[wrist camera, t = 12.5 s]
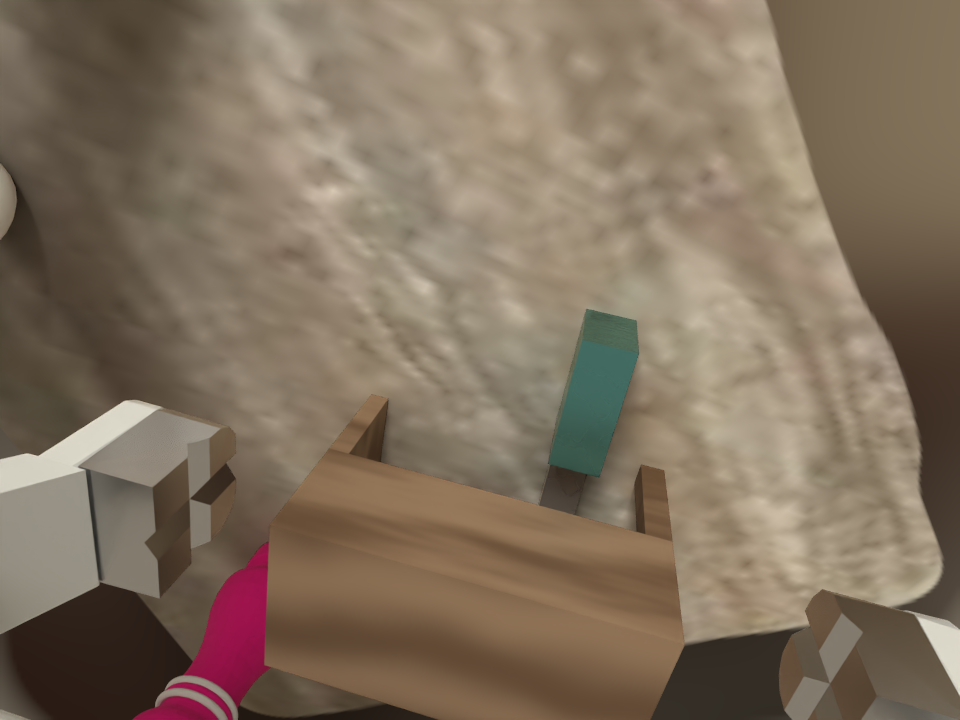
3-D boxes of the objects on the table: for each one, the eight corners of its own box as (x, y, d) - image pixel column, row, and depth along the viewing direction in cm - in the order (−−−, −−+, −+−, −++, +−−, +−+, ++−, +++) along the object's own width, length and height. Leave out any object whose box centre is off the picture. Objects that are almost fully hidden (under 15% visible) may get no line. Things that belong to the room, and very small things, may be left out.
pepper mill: (349, 591, 51) (204, 870, 33) (283, 612, 53) (114, 881, 36) (300, 523, 49) (117, 779, 31) (233, 547, 51) (28, 798, 34)
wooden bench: (371, 394, 43) (269, 524, 30) (664, 470, 41) (684, 644, 28) (358, 509, 47) (264, 665, 35) (622, 583, 45) (623, 777, 33)
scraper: (561, 302, 38) (554, 333, 33) (661, 326, 37) (667, 360, 33) (497, 559, 47) (484, 610, 42) (577, 581, 46) (572, 636, 41)
